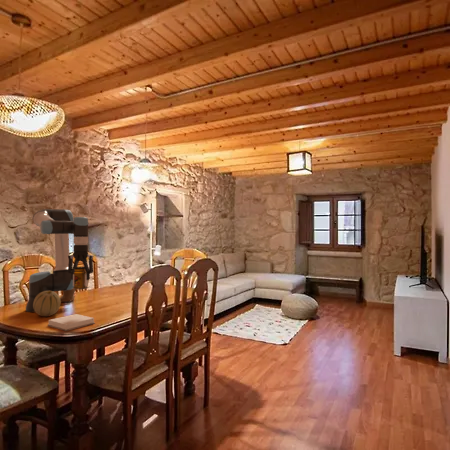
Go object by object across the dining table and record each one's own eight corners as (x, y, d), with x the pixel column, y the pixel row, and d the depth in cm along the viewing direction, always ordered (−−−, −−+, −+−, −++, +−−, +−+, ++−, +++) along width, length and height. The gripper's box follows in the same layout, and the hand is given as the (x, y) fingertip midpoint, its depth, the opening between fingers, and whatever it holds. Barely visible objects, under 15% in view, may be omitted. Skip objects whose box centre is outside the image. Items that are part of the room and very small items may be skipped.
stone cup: (75, 302, 242) (75, 280, 242) (56, 303, 239) (57, 281, 239) (78, 298, 256) (79, 277, 257) (61, 299, 253) (61, 278, 253)
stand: (47, 325, 184) (47, 320, 184) (76, 319, 198) (76, 313, 198) (66, 331, 175) (66, 325, 175) (94, 323, 189) (94, 318, 189)
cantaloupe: (44, 312, 213) (44, 287, 213) (66, 313, 211) (66, 288, 211) (26, 318, 199) (26, 292, 199) (49, 319, 196) (50, 292, 196)
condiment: (70, 289, 192) (70, 267, 192) (77, 287, 200) (78, 266, 200) (83, 289, 191) (84, 267, 192) (90, 287, 200) (90, 266, 200)
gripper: (60, 244, 193) (60, 286, 192) (94, 244, 192) (94, 286, 192) (67, 244, 200) (67, 284, 200) (100, 244, 200) (99, 284, 199)
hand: (80, 285), depth 196 cm, fingers closed on condiment, 6 cm apart
